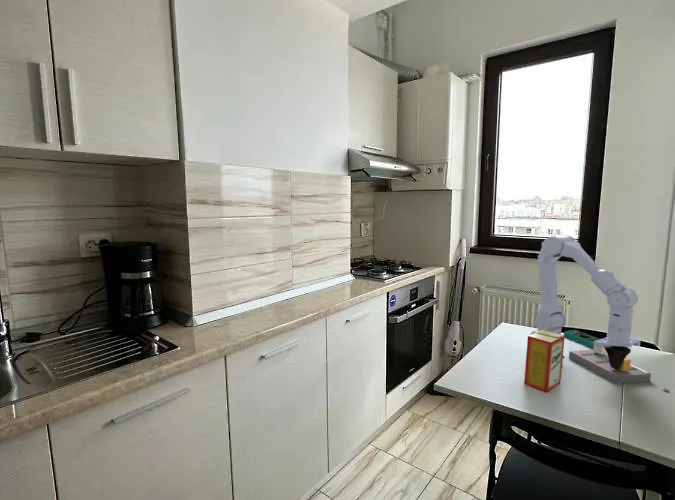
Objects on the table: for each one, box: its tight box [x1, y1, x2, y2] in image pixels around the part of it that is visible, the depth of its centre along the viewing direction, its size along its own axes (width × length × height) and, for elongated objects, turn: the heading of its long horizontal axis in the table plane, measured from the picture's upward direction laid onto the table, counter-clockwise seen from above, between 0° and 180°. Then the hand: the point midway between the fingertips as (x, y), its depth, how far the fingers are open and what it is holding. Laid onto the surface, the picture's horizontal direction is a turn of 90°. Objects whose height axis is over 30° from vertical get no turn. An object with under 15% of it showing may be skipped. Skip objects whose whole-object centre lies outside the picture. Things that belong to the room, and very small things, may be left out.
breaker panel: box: [568, 342, 652, 385], centre depth 121 cm, size 12×19×6 cm, turn 9°
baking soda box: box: [523, 329, 565, 394], centre depth 110 cm, size 10×6×16 cm
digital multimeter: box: [563, 329, 602, 350], centre depth 144 cm, size 7×15×3 cm, turn 16°
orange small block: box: [619, 357, 632, 371], centre depth 114 cm, size 2×3×4 cm
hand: (614, 367), depth 114 cm, fingers closed
